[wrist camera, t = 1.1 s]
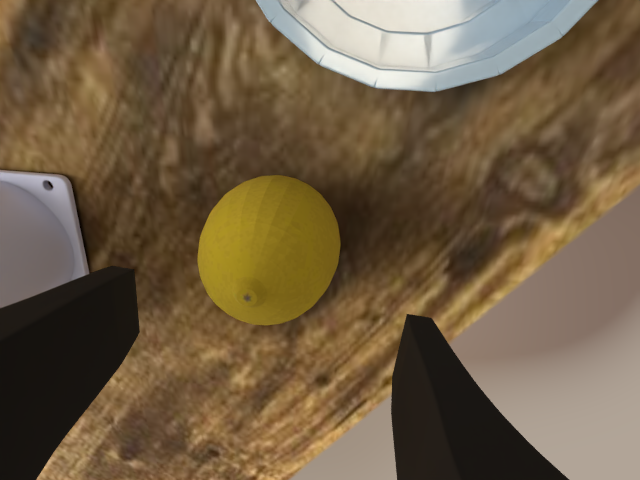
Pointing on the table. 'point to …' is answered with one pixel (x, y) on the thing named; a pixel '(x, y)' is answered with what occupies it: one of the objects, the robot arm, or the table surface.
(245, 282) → the lemon
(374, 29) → the bowl
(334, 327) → the table surface
